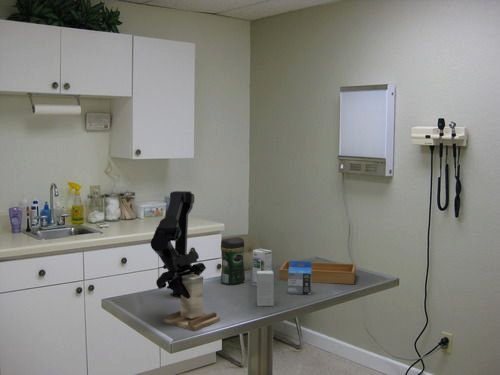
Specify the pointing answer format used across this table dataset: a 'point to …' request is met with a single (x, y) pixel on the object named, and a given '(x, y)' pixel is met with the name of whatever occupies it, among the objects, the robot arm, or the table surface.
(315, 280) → the tray
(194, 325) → the slotted oak board
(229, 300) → the table surface
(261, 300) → the skincare box
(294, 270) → the label tape box
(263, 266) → the syrup box
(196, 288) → the maple block
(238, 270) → the coffee jar
